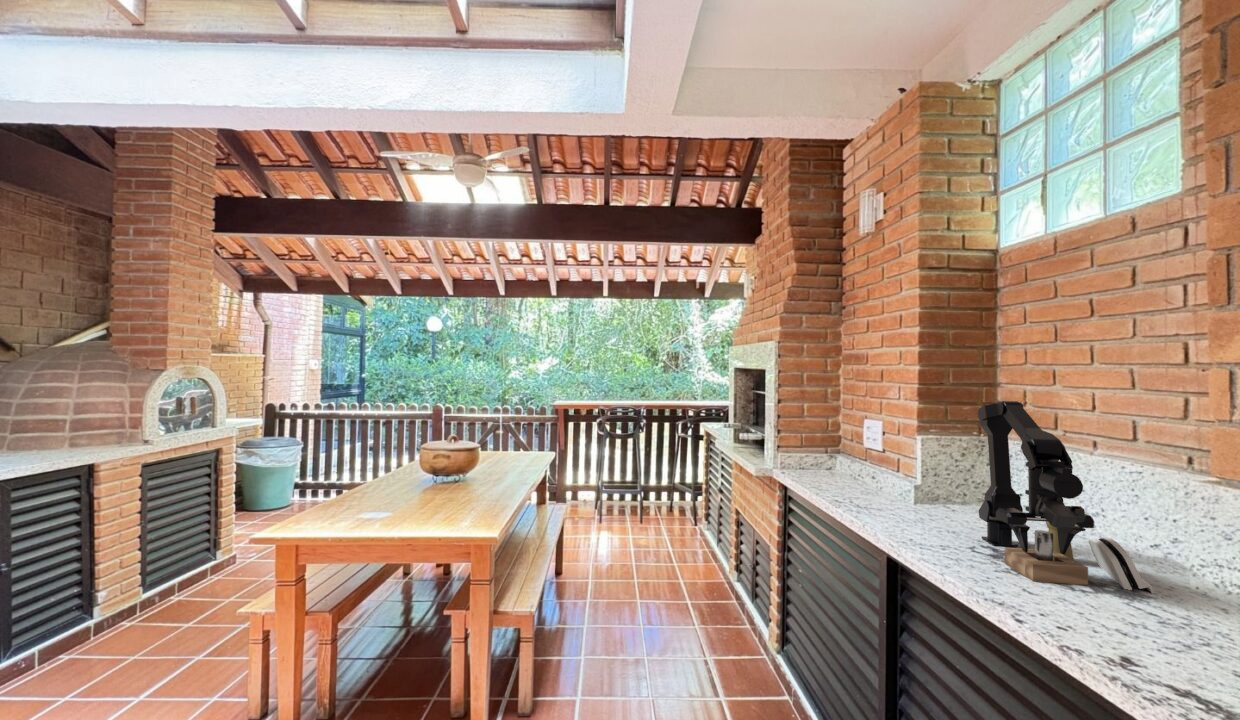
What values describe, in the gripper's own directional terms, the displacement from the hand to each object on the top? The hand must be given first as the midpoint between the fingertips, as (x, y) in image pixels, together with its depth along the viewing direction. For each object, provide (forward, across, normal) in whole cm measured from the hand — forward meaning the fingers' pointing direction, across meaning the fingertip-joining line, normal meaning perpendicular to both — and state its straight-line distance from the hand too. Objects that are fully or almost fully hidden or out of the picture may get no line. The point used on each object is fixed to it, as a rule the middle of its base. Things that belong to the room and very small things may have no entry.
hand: (1043, 552), depth 127 cm
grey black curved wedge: (+5, +16, 0) cm, 17 cm away
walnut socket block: (+5, 0, 0) cm, 5 cm away
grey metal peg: (+5, 0, 0) cm, 5 cm away
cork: (+5, +10, +11) cm, 16 cm away
